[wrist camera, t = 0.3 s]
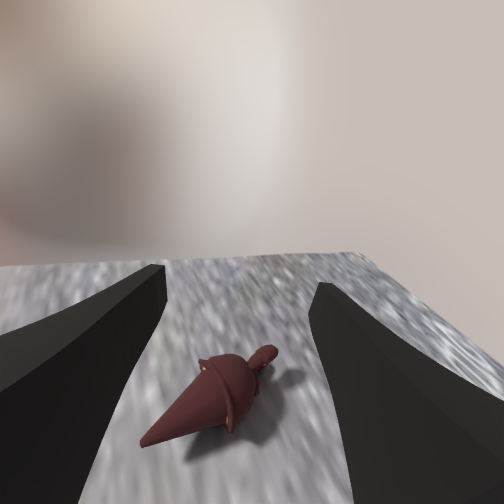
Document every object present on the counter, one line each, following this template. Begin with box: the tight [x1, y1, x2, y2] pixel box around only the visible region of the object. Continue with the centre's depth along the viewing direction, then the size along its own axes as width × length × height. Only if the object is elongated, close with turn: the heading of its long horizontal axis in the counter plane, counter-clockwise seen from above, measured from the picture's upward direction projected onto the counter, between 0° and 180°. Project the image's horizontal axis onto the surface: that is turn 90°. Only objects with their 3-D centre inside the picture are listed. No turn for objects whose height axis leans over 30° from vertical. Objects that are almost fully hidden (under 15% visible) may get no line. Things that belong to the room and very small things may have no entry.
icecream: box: [140, 345, 278, 448], centre depth 21 cm, size 7×7×15 cm
